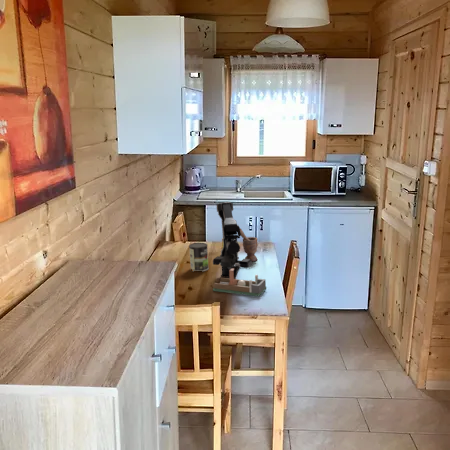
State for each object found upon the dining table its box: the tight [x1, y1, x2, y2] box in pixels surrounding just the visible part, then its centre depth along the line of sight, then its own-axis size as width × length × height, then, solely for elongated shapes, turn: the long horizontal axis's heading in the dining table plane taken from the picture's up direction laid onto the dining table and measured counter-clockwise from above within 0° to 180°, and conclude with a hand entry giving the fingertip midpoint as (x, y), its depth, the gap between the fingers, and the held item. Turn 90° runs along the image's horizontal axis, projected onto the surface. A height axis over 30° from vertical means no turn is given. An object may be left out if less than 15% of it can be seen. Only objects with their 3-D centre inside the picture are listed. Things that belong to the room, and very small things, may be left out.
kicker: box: [219, 269, 237, 285], centre depth 243 cm, size 8×6×9 cm
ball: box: [237, 279, 245, 286], centre depth 240 cm, size 4×4×4 cm
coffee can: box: [188, 242, 209, 272], centre depth 274 cm, size 10×10×14 cm
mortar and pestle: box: [240, 228, 258, 263], centre depth 284 cm, size 12×9×20 cm
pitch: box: [212, 274, 267, 297], centre depth 240 cm, size 24×11×7 cm, turn 66°
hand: (232, 278), depth 241 cm, fingers closed on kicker, 2 cm apart
